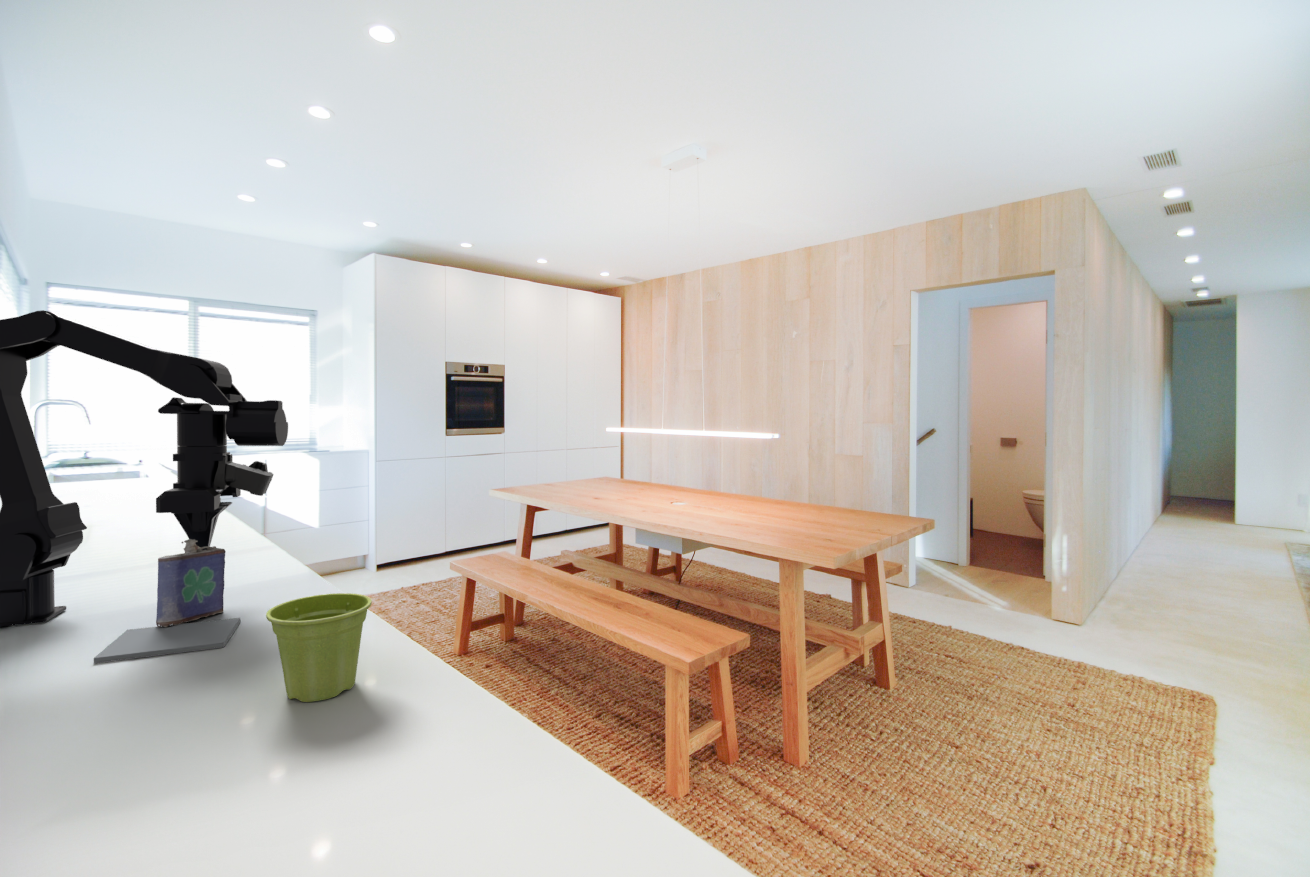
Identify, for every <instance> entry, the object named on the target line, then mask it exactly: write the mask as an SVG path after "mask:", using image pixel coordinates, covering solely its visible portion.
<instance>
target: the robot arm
mask: <svg viewBox="0 0 1310 877" xmlns="http://www.w3.org/2000/svg"><path fill="white" fill-rule="evenodd" d="M60 346H62V347H64V348H67V349H70V350H73V351H76V352H79V353H83V354H85V355H89V356H90V357H94V358H97V359H98V360H102V361H106V362H109V363H111V364H114V365H118V366H120V367H124V368H126V369H129V370H132V371H135V372H138V373H140V374H143V375H144V376H146V377H148V378H150V379H152V380H153V381H154V382H156V384H159V385H160V386H163V387H164V388H166V389H168V390H171V392H174V393H176V394H177V395H180V396H182V397H185V398H189V399H198V400H202V401H203V402H204V403H202V402H187V401H185V399H183V398H182V397H172V398H171V399H170V400H169V401H168V402H167V403H165V405H162V406H161V407H159V408H158V410H157V412H158V413H159V414H163V415H165V414H166V415H176V449H177V452H176V453H172V462H176V463H177V464H176V465H177V466H176V467H177V468H176V469H177V470H176V471H177V473H176V474H177V477H176V478H177V482H173V483H172V488H171V489H168V490H165V491H163V492H162V493H161V494H159V496H157V497H156V498H155V513H156V514H157V513H158V514H164V513H167V514H170V513H171V514H173V516H174V517H175V518H176V520H177V522H178V524H179V525H180V526H181V528H182V530H183V531H184V532H185V534H186V537H187V538H188V539H192V540H195V541H198V542H196V543H195V544H196V545H197V546H199V547H211V545H212V544H211V543H212V540H213V537H214V532H215V531H216V530H215V529H216V525H217V523H218V520H219V516H220V514H221V513H222V512H224V511H225V510H226V509H227V508H228V507H230V506H231V505H232V504H233V502H232V501H222V500H221V499H222V498H221V497H229V496H232V498H239V497H240V496H241V495H242V494H241V490H242V491H244V492H249V493H250V494H251V495H256V496H261V497H262V496H264V495H265V494H266V493H267V492H268V489H269V488H270V487H269V486H270V484H271V482H272V480H273V476H274V473H273V472H271V471H268V464H267V463H265V462H262V461H259V460H255V461H253V462H252V463H251V464H250V465H246V464H241V463H236V462H233V454H232V453H231V452H230V451H228V439H229V440H233V441H234V443H235V445H237V446H238V447H283V446H284V445H285V444H286V443H287V439H288V435H289V422H288V421H287V416H286V413H285V410H284V408H283V401H281V400H276V399H275V400H274V399H273V400H269V399H268V400H264V401H261V400H260V401H258V400H257V401H256V400H254V401H253V400H252V401H251V400H250V401H248V400H247V399H246V397H244V395H243V394H242V393H241V392H240V390H238V389H237V387H236V386H235V385H234V384H233V377H232V374H231V373H230V370H229V368H228V367H227V366H226V365H224V364H222V363H220V362H217V361H214V360H209V359H205V358H200V357H196V356H191V355H185V354H180V353H175V352H174V353H173V352H170V351H169V352H168V351H163V350H159V349H157V348H154V347H150V346H149V345H146V344H142V343H139V342H137V341H134V340H131V339H128V338H125V337H122V336H119V335H117V334H114V333H111V332H108V331H105V330H103V329H100V328H97V327H94V326H91V325H89V324H85V323H83V322H80V321H77V320H76V319H73V318H72V317H70V316H68V315H64V314H60V313H56V312H52V311H48V310H36V311H32V312H29V313H26V314H23V315H19V316H15V317H10V318H8V317H7V318H4V319H0V500H1V507H0V627H10V626H11V627H12V626H21V625H31V624H39V623H40V624H41V623H46V622H48V621H49V620H52V618H54V617H56V616H57V615H60V614H61V613H63V612H64V611H66V610H67V606H66V605H60V606H59V605H58V606H55V569H58V568H62V567H65V566H66V565H67V564H68V561H69V559H70V556H71V554H72V553H74V552H75V551H76V550H78V548H79V547H80V546H81V544H82V543H83V541H84V532H83V531H85V530H87V529H88V526H86V525H85V523H84V522H83V520H82V518H81V512H80V506H79V504H78V502H76V501H74V502H73V501H72V502H67V503H63V501H61V500H60V499H59V498H58V497H57V496H56V495H55V494H54V492H53V491H52V490H53V489H52V488H51V484H50V481H49V477H48V475H47V472H46V469H45V465H44V463H43V459H42V456H41V452H40V449H39V446H38V444H37V440H36V437H35V434H34V431H33V428H32V425H31V424H32V423H31V422H30V419H29V416H28V411H27V409H26V406H25V402H24V400H23V397H22V395H23V394H22V391H23V388H24V385H25V382H26V379H27V377H28V366H27V365H28V364H27V361H30V360H33V359H37V358H39V357H42V356H44V355H45V354H48V353H49V352H51V351H52V350H54V349H56V348H57V347H60ZM212 406H219V407H220V406H222V407H228V410H215V409H214V408H213V407H212ZM227 438H228V439H227ZM202 550H207V548H204V549H202Z"/></svg>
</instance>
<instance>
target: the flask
mask: <svg viewBox="0 0 1310 877" xmlns="http://www.w3.org/2000/svg"><path fill="white" fill-rule="evenodd" d="M196 542H198V541H195V540H192V539H189V538H188V539H186V540H184V541H181V544H182V545H183V544H184V543H185V546H184V548H183V551H184V553H176V554H171V555H164V556H161V557H158V558H157V590H156V591H157V597H156V598H157V600H156V617H155V623H156V627H160V626H164V627H167V626H169V625H177V624H183V623H187V622H188V623H189V622H191V621H196V620H199V619H200V618H204V617H205V618H207V617H209V616H214V615H216V614H221V613H223V612H224V592H225V566H226V560H225V558H226V550H225V548H219V547H217V546H215V545H214V546H210V547H199V546H197V545H196V544H195V543H196ZM204 548H207V550H202V549H204Z"/></svg>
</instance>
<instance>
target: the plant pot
mask: <svg viewBox="0 0 1310 877" xmlns="http://www.w3.org/2000/svg"><path fill="white" fill-rule="evenodd" d="M371 606H372V598H371V597H369V596H367V595H364V594H360V593H348V592H347V593H343V592H341V593H326V594H316V595H311V596H304V597H301V598H300V597H299V598H296V599H291V600H288V601H285V602H282V603H279V604H277V605H275V606H273V607H271V608H269V609H267V610H268V611H267V612H266V613H265V617H266V620H267V621H269V622H270V623H271V627H272V632H273V634H274V635H275V636H276V640H277V646H278V651H279V657H280V664H281V668H282V673H283V680H284V686H285V691H286V696H287V697H288V698H287V699H289V700H293V699H297V700H298V701H300V702H301V703H313V702H318V701H323V700H330V699H332V698H334V697H337V696H339V695H340V693H342V692H343V691H345V690H351V689H352V688H353V687H354V686H355V683H356V679H357V672H358V671H357V670H358V663H359V653H360V648H361V641H362V640H361V639H362V631H363V627H364V626H363V625H364V622H365V621H366V617H367V613H368V610H369V608H371Z"/></svg>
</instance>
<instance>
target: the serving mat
mask: <svg viewBox="0 0 1310 877" xmlns="http://www.w3.org/2000/svg"><path fill="white" fill-rule="evenodd" d="M240 624H241V617H234V618H226V619H215V620H208V621H207V620H206V621H197V622H196V621H195V622H190V623H189V622H188V623H187V622H185V623H182V624H177V625H169V626H167V627H164V626H160V625H159V626H160V627H157V626H150V627H141V628H139V627H138V628H132V629H126V630H125V631H124V632H123V633H122V634H120V635H119V636H118V637H117V638H116V639H114V640H113V641H112V642H111V643H110V644H108V645H107V646H106V647H105V648H104V649H102V651H100V652H99V653H98V654H97V655H96V656H94V658H93V664H98V663H99V664H100V663H108V662H109V663H110V662H117V661H125V660H132V659H140V658H148V657H149V658H150V657H156V656H164V655H173V654H181V653H188V652H189V653H190V652H197V651H204V650H205V651H206V650H213V649H221V648H225V646H226V645H227V644H228V642H229V640H230V639H231V638H232V635H233V634H234V633H235V631H236V630H237V628H238V626H239V625H240Z"/></svg>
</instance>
